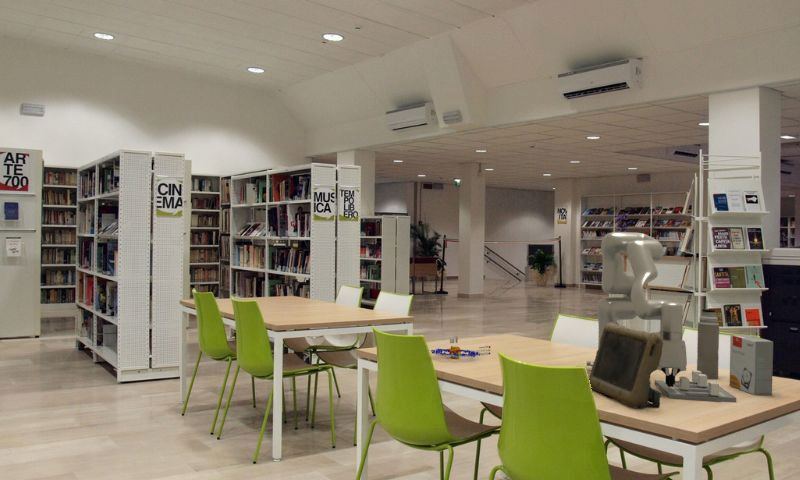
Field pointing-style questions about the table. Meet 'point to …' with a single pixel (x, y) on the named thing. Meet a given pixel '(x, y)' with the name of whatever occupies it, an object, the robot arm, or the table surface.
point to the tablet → (627, 365)
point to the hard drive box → (751, 364)
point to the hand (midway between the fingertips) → (670, 386)
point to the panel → (693, 392)
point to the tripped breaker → (684, 383)
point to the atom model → (458, 351)
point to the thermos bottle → (708, 344)
